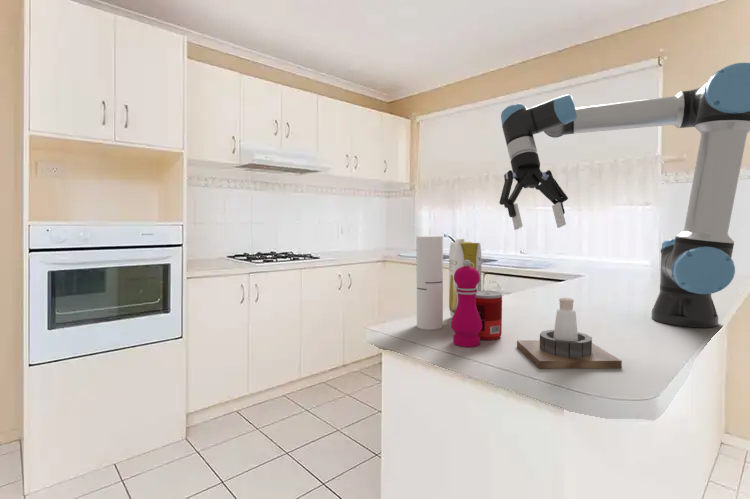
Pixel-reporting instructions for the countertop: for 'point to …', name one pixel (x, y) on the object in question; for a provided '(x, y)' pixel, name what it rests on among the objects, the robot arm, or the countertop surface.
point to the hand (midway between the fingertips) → (540, 227)
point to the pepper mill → (466, 307)
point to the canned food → (490, 314)
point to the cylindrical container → (429, 282)
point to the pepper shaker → (566, 321)
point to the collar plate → (565, 361)
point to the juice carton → (456, 258)
